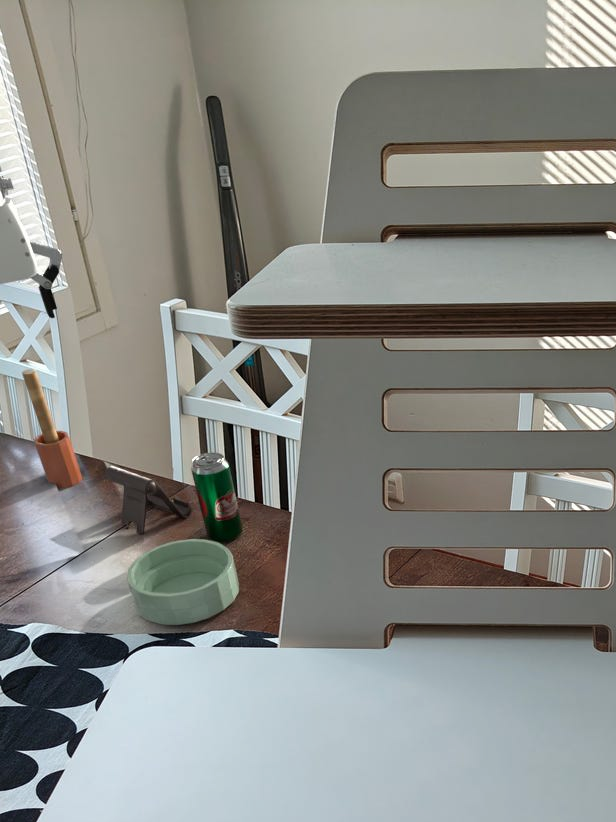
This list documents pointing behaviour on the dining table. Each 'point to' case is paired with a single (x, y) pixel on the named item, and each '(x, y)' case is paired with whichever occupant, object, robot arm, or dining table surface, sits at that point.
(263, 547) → the dining table surface
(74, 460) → the crock
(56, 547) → the dining table surface
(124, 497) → the tablet stand
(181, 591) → the bowl
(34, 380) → the wooden dowel rod
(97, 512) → the dining table surface
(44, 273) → the robot arm
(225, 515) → the soda can
